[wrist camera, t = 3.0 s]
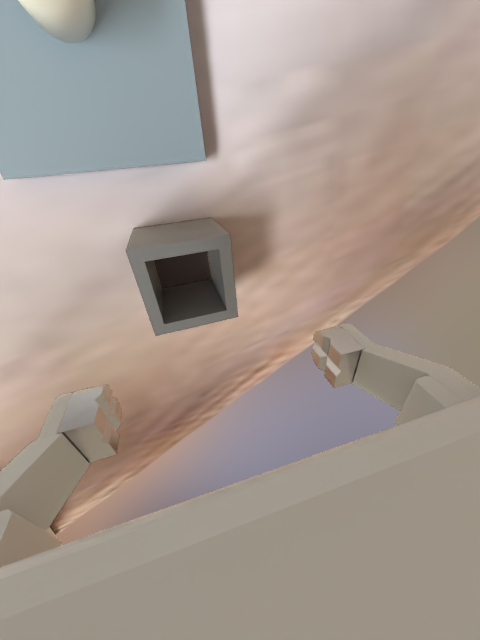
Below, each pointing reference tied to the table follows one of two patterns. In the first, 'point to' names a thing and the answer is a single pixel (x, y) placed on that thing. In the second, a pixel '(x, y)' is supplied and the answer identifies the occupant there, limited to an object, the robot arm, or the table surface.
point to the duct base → (96, 86)
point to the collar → (190, 299)
